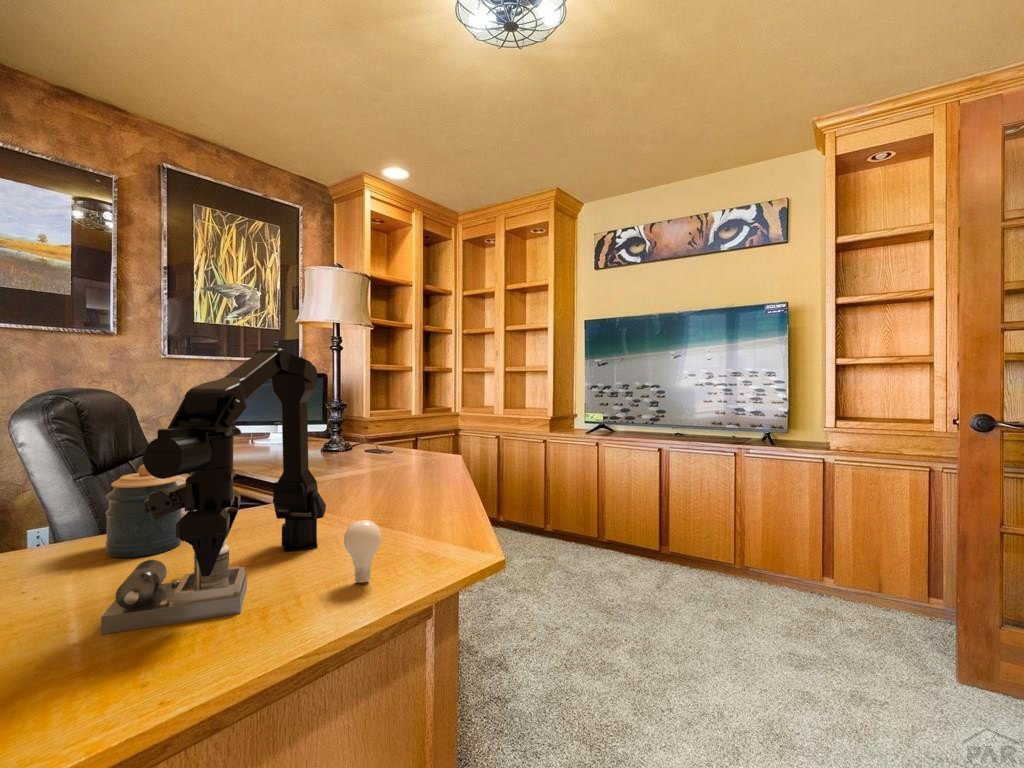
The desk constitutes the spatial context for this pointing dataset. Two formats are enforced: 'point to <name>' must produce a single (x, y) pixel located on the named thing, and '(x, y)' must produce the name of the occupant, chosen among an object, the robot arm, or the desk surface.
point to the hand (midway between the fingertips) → (211, 565)
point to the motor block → (170, 599)
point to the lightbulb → (362, 547)
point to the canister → (139, 517)
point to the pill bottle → (214, 571)
